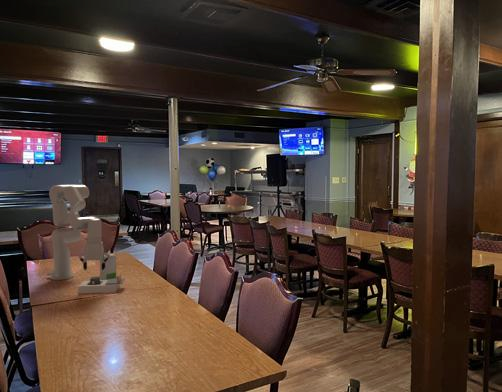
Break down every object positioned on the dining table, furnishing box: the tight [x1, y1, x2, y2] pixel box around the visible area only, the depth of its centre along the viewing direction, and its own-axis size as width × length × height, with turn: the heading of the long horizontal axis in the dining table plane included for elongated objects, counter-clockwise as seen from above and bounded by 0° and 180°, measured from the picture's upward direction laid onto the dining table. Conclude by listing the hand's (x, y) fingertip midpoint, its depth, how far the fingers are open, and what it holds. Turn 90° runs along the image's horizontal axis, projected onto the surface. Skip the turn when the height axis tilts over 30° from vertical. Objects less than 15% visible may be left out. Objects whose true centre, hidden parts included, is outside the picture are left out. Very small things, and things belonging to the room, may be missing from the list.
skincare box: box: [99, 253, 118, 280], centre depth 243 cm, size 8×7×16 cm
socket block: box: [77, 280, 121, 295], centre depth 221 cm, size 20×12×4 cm, turn 99°
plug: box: [89, 275, 100, 285], centre depth 221 cm, size 4×6×7 cm, turn 7°
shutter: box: [105, 272, 126, 285], centre depth 222 cm, size 9×10×4 cm
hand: (94, 269), depth 221 cm, fingers open, 9 cm apart
